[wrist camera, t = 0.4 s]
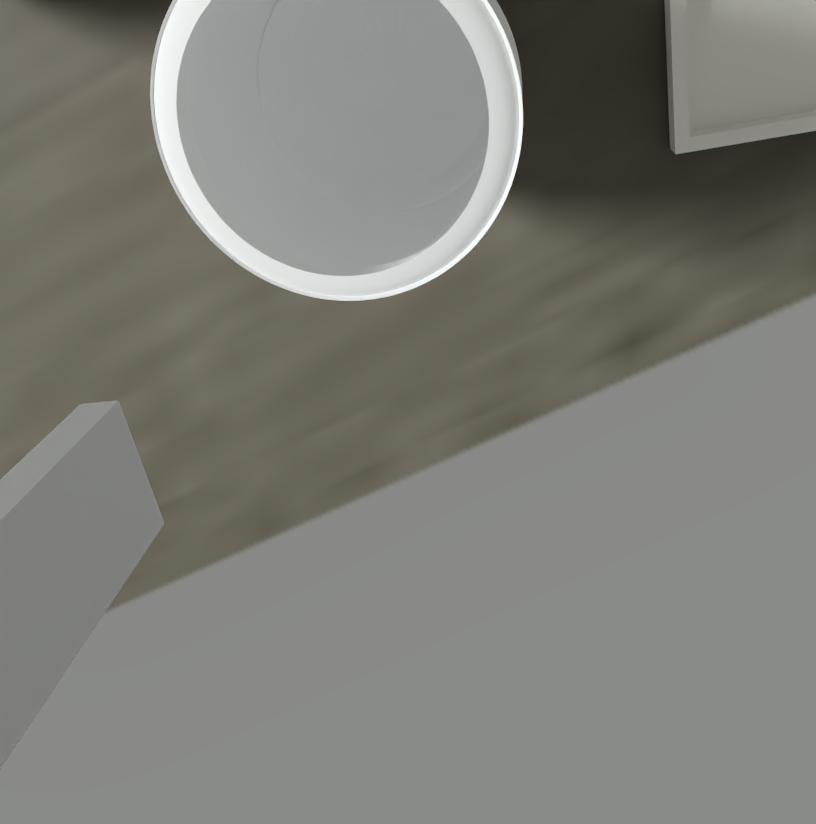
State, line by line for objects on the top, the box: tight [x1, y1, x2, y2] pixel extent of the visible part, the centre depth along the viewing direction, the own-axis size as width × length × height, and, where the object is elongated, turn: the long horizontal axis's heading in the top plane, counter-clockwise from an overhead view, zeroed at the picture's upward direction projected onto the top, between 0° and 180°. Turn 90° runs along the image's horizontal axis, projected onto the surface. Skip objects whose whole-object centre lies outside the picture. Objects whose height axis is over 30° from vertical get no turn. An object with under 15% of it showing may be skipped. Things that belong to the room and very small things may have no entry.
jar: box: [150, 0, 523, 301], centre depth 28 cm, size 11×10×15 cm
